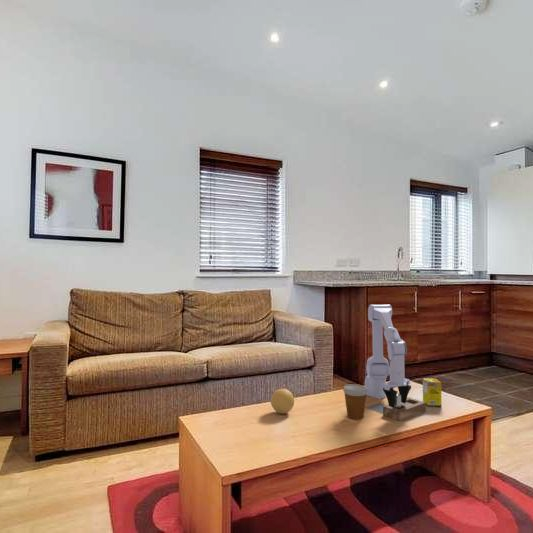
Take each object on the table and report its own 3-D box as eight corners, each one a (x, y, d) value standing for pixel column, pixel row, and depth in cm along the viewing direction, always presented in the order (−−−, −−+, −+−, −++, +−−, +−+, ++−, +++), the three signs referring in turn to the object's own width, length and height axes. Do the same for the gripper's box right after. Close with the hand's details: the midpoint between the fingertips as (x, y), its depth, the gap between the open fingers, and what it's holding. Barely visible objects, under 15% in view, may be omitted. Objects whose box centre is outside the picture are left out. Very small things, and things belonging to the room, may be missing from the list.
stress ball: (290, 420, 151) (303, 400, 157) (275, 404, 149) (288, 384, 154) (276, 416, 160) (289, 397, 165) (262, 401, 157) (275, 382, 162)
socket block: (383, 415, 153) (383, 406, 153) (408, 406, 164) (408, 397, 164) (400, 422, 147) (400, 411, 147) (425, 411, 157) (425, 402, 157)
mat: (365, 408, 162) (365, 407, 162) (379, 403, 168) (379, 402, 168) (382, 414, 155) (382, 413, 155) (397, 409, 161) (397, 408, 161)
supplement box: (441, 407, 163) (441, 382, 163) (428, 407, 163) (427, 382, 163) (436, 402, 169) (435, 378, 169) (422, 402, 169) (422, 378, 169)
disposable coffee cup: (370, 421, 147) (370, 391, 148) (346, 421, 147) (346, 391, 148) (363, 412, 157) (363, 383, 157) (341, 412, 157) (341, 384, 157)
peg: (392, 416, 153) (391, 394, 153) (396, 414, 154) (396, 392, 155) (398, 418, 150) (398, 396, 150) (402, 417, 152) (402, 394, 152)
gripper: (394, 376, 145) (395, 411, 145) (416, 370, 154) (416, 403, 153) (379, 372, 151) (379, 406, 151) (401, 366, 159) (401, 398, 159)
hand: (397, 404), depth 152 cm, fingers open, 7 cm apart
